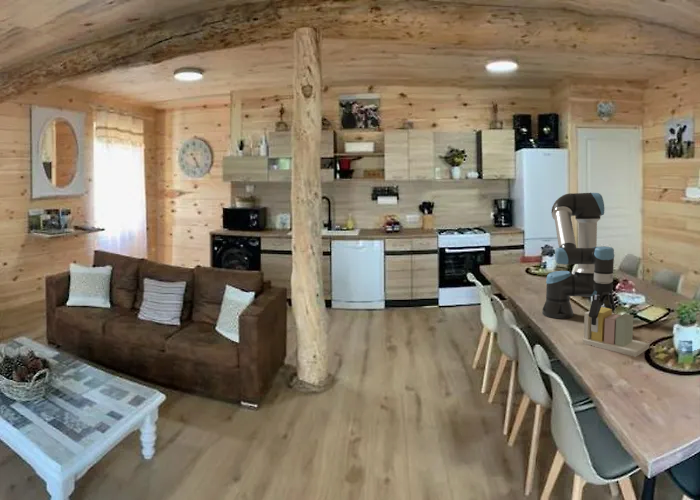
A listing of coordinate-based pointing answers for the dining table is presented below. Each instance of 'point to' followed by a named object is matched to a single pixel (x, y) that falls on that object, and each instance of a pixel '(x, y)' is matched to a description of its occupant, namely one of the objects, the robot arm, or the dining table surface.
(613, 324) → the block stand tray
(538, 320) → the dining table surface
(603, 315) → the book
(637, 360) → the dining table surface
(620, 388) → the dining table surface
